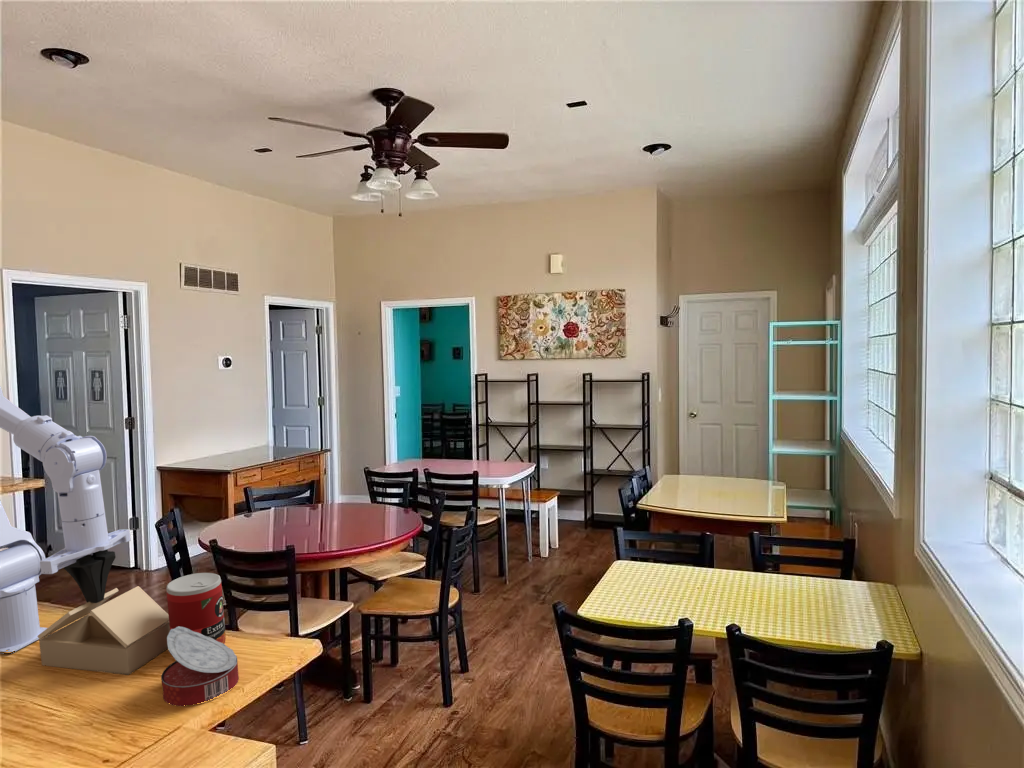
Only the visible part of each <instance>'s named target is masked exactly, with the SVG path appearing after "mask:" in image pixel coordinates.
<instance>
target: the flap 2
mask: <svg viewBox="0 0 1024 768" xmlns="http://www.w3.org/2000/svg"><path fill="white" fill-rule="evenodd" d="M89 614H91V615H92V616H93V617H94V618H95V619H96V620H97V621H98V622H99V623H100V624H101V625H102V626H103V627H104V628H105V629H106V630H107V631H108V632H109V633H110V634H111V635H113V636H114V637H115V638H116V639H117V640H118V641H119V642H120V643H121V644H122V645H123V646H124V647H125V648H127V647H128V646H130V645H132V644H133V643H135V642H137V641H138V640H140V639H141V638H143V637H145V636H146V635H148V634H149V633H151V632H153V631H154V630H156V629H157V628H159V627H161V626H162V625H164V624H165V623H167V622H169V614H168V612H167V611H166V610H164V609H163V608H162V606H160V605H159V604H158V603H157V602H156V601H155V600H154V599H153V598H152V597H151V596H150V595H149V594H147V592H145V591H144V590H143V589H142V588H141V587H140V585H138V586H135V587H133V588H132V589H130V590H128V591H125V592H124V593H122V594H119V595H118V596H116V597H114V598H112V599H111V600H108V601H105V602H103V603H102V604H101V605H100V606H98V607H97V608H95V609H93V610H91V612H90V613H89Z"/></svg>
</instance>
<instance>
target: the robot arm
mask: <svg viewBox="0 0 1024 768" xmlns="http://www.w3.org/2000/svg"><path fill="white" fill-rule="evenodd" d="M0 429H1V430H3V431H6V432H8V433H10V435H11V434H12V435H13V439H12V440H13V443H14V445H15V446H16V447H18V448H19V449H20V450H22V451H24V452H25V453H27V454H28V455H30V456H32V457H33V458H35V459H36V460H38V461H40V462H42V466H43V470H44V472H45V474H46V475H47V476H48V478H49V479H50V481H51V486H52V489H53V491H54V492H55V493H56V494H57V499H58V505H59V507H58V508H59V512H60V513H59V514H60V519H61V527H62V528H61V529H62V532H63V533H62V534H63V542H64V548H62V549H60V550H58V551H57V552H55V553H53V554H52V555H50V556H48V557H46V554H45V552H44V551H43V549H42V548H41V546H39V545H38V544H37V543H36V541H35V540H34V538H33V535H32V533H31V532H30V531H26V530H24V529H21V528H17V527H15V526H12V525H11V523H10V520H9V517H8V515H7V513H6V510H5V508H4V506H3V503H2V501H1V500H0V652H13V651H15V652H18V651H19V650H21V649H23V648H25V647H27V646H28V645H30V644H32V643H34V642H36V641H39V640H40V639H39V638H38V635H39V634H41V633H42V632H43V631H45V630H46V629H47V628H48V627H43V626H40V618H39V609H38V608H39V607H38V599H37V590H36V584H37V583H39V582H40V578H39V577H40V576H41V575H53V574H56V573H58V572H59V570H61V569H64V570H65V572H67V573H68V574H69V575H70V576H71V578H72V579H73V580H74V581H75V583H76V584H77V585H78V587H79V589H80V591H81V593H82V596H83V597H84V599H85V603H87V602H89V601H90V603H98V602H100V601H102V600H104V595H105V593H106V588H107V582H108V577H109V574H110V570H111V567H112V566H113V563H114V562H115V559H116V558H117V557H116V552H115V551H113V550H112V551H111V550H110V551H109V549H111V548H114V547H115V546H119V545H120V544H123V543H128V542H131V532H130V530H131V529H129V528H128V529H127V528H126V529H124V528H123V529H117V530H114V531H112V532H108V525H107V517H106V509H105V504H104V495H103V487H102V481H101V480H102V479H101V471H102V470H103V469H104V468H105V466H106V464H107V459H108V457H107V456H108V455H107V450H106V447H105V446H104V444H103V443H102V442H101V441H100V440H99V439H98V438H97V437H96V436H94V435H86V436H82V435H76V434H74V432H72V431H71V430H68V429H66V428H64V427H63V426H61V425H59V424H58V423H56V422H54V421H53V418H52V417H51V416H49V415H46V414H45V415H33V416H30V415H29V414H28V413H26V412H25V411H24V410H22V409H21V408H20V407H19V406H17V405H16V404H15V403H13V402H12V401H11V400H9V399H8V398H7V397H5V396H4V393H3V389H2V386H1V385H0ZM1 549H2V550H1ZM6 650H8V651H6ZM13 653H14V652H13Z"/></svg>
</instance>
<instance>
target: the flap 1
mask: <svg viewBox="0 0 1024 768" xmlns="http://www.w3.org/2000/svg"><path fill="white" fill-rule="evenodd" d="M119 591H120V590H119V589H118V588H117V587H115V588H114V589H111V590H110V591H106V592H105V595H104V600H102V601H100V602H98V603H90V601H89V602H85V603H84V604H82V605H80V606H78V607H75V608H74V609H72V610H70V611H68V612H66V613H65V614H64V615H63V616H61V617H60V618H59V619H57V620H56V621H55V622H54V623H52V624H51V625H50V626H49V627H46V628H47V629H46V630H45V631H43V632H42V633H41V634H39V635H38V638H39V639H38V640H41V639H43V638H44V637H46V636H48V635H50V634H52V633H54V632H56V631H58V630H60V629H62V628H64V627H65V626H67V625H69V624H71V623H73V622H75V621H77V620H79V619H81V618H83V617H85V616H86V615H88V614H90V612H91V610H93V609H95V608H97V607H99V606H101V605H103V604H104V603H106V602H107V600H109V599H110V598H111V597H113V596H114V595H115V594H117V593H118V592H119Z"/></svg>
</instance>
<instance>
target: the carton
mask: <svg viewBox="0 0 1024 768" xmlns="http://www.w3.org/2000/svg"><path fill="white" fill-rule="evenodd" d="M169 632H170V625H169V622H167V623H165V624H164V625H162V626H161V627H159V628H157V629H156V630H154V631H153V632H151V633H149V634H148V635H146V636H145V637H143V638H141V639H140V640H138V641H137V642H135V643H133V644H132V645H130V646H128V647H127V648H125V647H124V646H123V645H122V644H121V643H120V642H119V641H118V640H117V639H116V638H115V637H114V636H113V635H111V634H110V633H109V632H108V631H107V630H106V629H105V628H104V627H103V626H102V625H101V624H100V623H99V622H98V621H97V620H96V619H95V618H94V617H93V616H92V615H91V614H90V613H89V614H87V615H85V616H83V617H81V618H79V619H77V620H76V621H74V622H72V623H70V624H68V625H66V626H64V627H62V628H60V629H58V630H56V631H55V632H53V633H51V634H49V635H47V636H45V637H43V638H41V639H38V642H39V651H40V659H41V665H42V666H45V665H46V666H47V667H54V668H55V667H56V668H65V669H72V670H73V669H74V670H81V671H90V672H99V673H106V674H107V673H108V674H115V675H125V676H130V675H131V674H133V673H134V672H135V670H136V671H137V670H138V669H141V667H143V666H144V665H146V664H147V663H149V662H150V661H152V660H154V658H157V657H158V656H159V655H161V654H162V653H163V652H165V651H166V650H168V645H167V636H168V634H169ZM46 666H45V667H46ZM132 672H133V673H132ZM129 674H130V675H129Z"/></svg>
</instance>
